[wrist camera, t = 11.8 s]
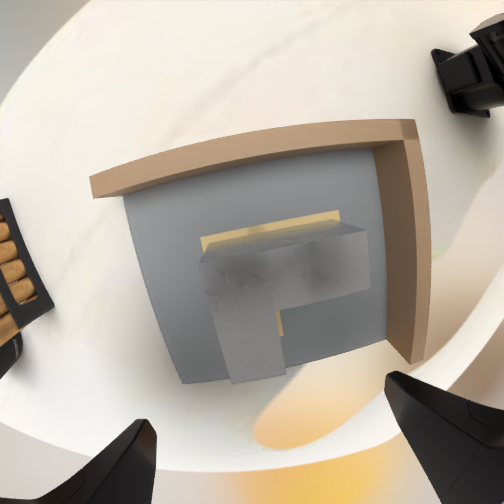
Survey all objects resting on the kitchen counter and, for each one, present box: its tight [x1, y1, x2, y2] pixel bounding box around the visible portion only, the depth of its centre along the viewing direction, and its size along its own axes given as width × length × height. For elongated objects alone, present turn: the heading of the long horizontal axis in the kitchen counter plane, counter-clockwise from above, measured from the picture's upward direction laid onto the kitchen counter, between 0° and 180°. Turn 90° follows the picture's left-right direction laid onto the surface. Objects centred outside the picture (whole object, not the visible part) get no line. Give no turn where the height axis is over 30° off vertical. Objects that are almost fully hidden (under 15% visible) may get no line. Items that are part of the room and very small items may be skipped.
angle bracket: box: [198, 219, 371, 384], centre depth 15 cm, size 7×8×5 cm
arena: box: [90, 119, 431, 384], centre depth 16 cm, size 18×16×5 cm
